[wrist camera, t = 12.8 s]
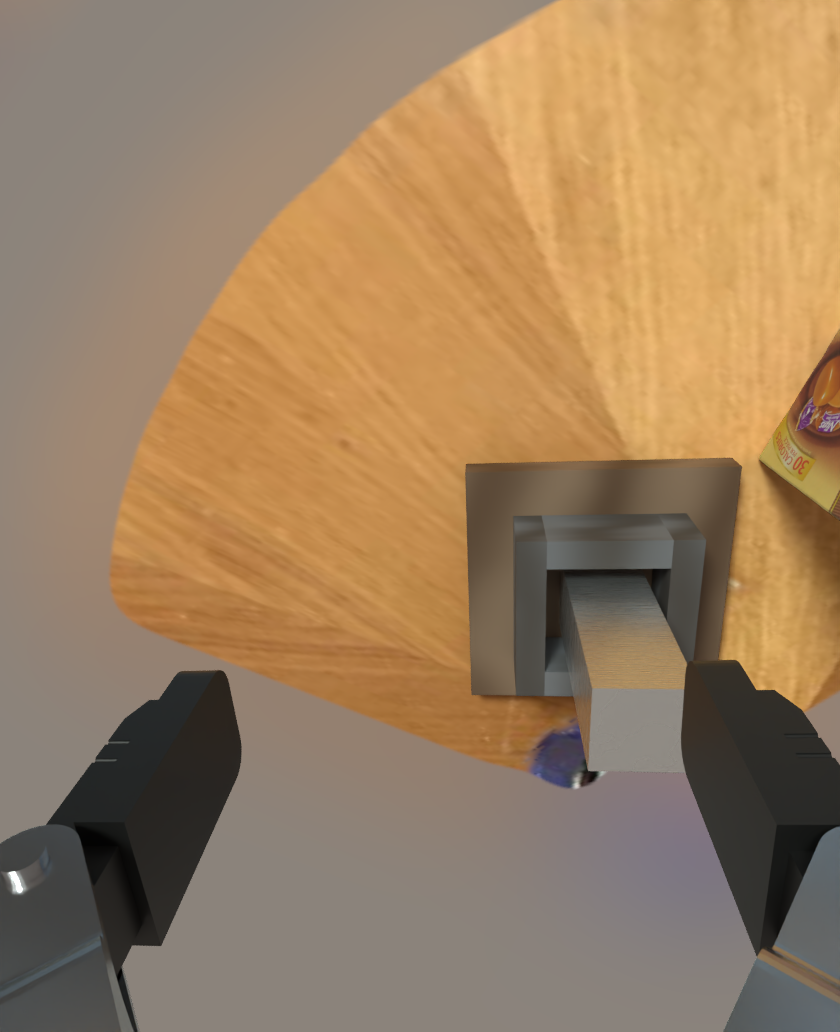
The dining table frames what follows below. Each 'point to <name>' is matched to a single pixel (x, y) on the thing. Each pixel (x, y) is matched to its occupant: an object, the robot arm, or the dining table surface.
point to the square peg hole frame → (591, 555)
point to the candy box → (812, 436)
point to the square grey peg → (622, 671)
